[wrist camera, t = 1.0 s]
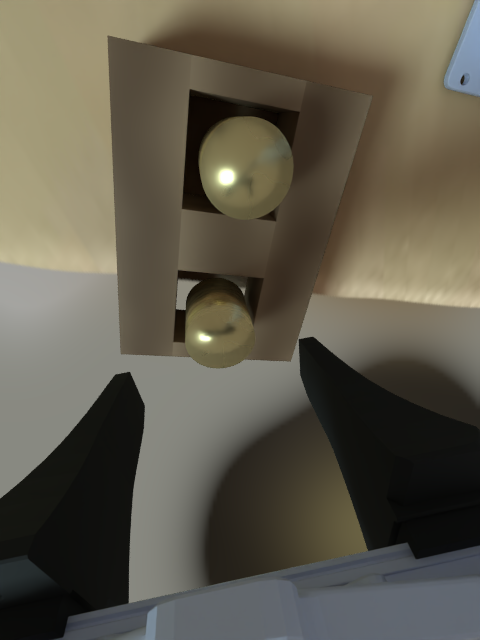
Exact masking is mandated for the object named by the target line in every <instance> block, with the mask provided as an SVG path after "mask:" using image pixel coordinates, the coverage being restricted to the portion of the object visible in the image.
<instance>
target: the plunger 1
mask: <svg viewBox="0 0 480 640" xmlns="http://www.w3.org/2000/svg"><path fill="white" fill-rule="evenodd" d="M198 163H199V170H200V176H201V181H202V185H203V188H204V191H205V193H206V195H207V197H208V199H209V200H210V202H211V203H212V204H213V205H214V206H215V207H216V208H217V209H218V210H219V211H221V212H222V213H223V214H225V215H227V216H229V217H232V218H235V219H241V220H250V219H256V218H259V217H262V216H264V215H266V214H268V213H269V212H271V211H272V210H274V209H275V208H276V207H277V206H278V205H279V204H280V203H281V202H282V200H283V199H284V197H285V196H286V194H287V192H288V190H289V188H290V185H291V181H292V177H293V167H294V166H293V156H292V152H291V149H290V146H289V144H288V141H287V140H286V138H285V136H284V135H283V134H282V132H281V131H280V130H279V129H278V128H277V127H276V126H274V125H273V124H272V123H270V122H268V121H266V120H264V119H261V118H258V117H251V116H245V117H229V118H225V119H222V120H220V121H218V122H217V123H215V124H214V125H213V126H212V127H211V128H210V129H209V130H208V131H207V132H206V134H205V136H204V137H203V139H202V142H201V144H200V148H199V154H198Z"/></svg>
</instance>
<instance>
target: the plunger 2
mask: <svg viewBox="0 0 480 640" xmlns="http://www.w3.org/2000/svg"><path fill="white" fill-rule="evenodd" d="M254 344H255V331H254V328H253V325H252V321H251V318H250V315H249V311H248V308H247V305H246V301H245V298H244V295H243V293H242V291H241V289H240V288H239V287H238V286H237V285H236V284H235V283H233V282H231V281H229V280H226V279H222V278H210V279H206V280H203V281H201V282H200V283H198V284H197V285H195V286H194V287H193V288H192V289H191V291H190V293H189V294H188V296H187V300H186V326H185V346H186V349H187V352H188V354H189V355H190V356H191V358H192V359H193V360H195V361H196V362H197V363H199V364H201V365H203V366H206V367H210V368H226V367H231V366H234V365H236V364H238V363H240V362H241V361H243V360H244V359H245V358H246V357H247V356H248V355H249V354H250V353H251V351H252V349H253V347H254Z"/></svg>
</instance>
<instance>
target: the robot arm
mask: <svg viewBox="0 0 480 640" xmlns="http://www.w3.org/2000/svg"><path fill="white" fill-rule="evenodd" d="M463 75H464V77H465V79H464V82H463V84H462V85H461V83H460V80H461V77H462V76H463ZM444 86H445V88H447V89H449V90H453V91H457V92H461V93H465V94H469V95H473V96H477V97H480V0H475V1H474V4H473V6H472V9H471V11H470V14H469V16H468V19H467V21H466V24H465V27H464V29H463V32H462V34H461V37H460V39H459V42H458V44H457V47H456V49H455V52H454V54H453V57H452V59H451V62H450V64H449V67H448V69H447V72H446V75H445V78H444ZM299 354H300V355H299V356H300V375H301V378H302V381H303V384H304V387H305V390H306V393H307V396H308V398H309V400H310V402H311V404H312V406H313V408H314V410H315V412H316V414H317V416H318V419H319V421H320V423H321V424H322V427H323V429H324V431H325V433H326V435H327V437H328V439H329V441H330V443H331V446H332V448H333V450H334V453H335V456H336V458H337V461H338V464H339V466H340V469H341V472H342V475H343V478H344V480H345V483H346V486H347V489H348V491H349V494H350V497H351V500H352V503H353V506H354V509H355V512H356V515H357V518H358V521H359V524H360V527H361V530H362V533H363V537H364V539H365V543H366V546H367V549H368V551H366V552H362V553H357V554H353V555H348V556H344V557H339V558H334V559H330V560H325V561H321V562H316V563H311V564H307V565H302V566H298V567H293V568H289V569H284V570H280V571H275V572H271V573H266V574H261V575H257V576H252V577H247V578H243V579H238V580H234V581H230V582H224V583H220V584H215V585H211V586H206V587H202V588H197V589H192V590H188V591H183V592H179V593H174V594H170V595H165V596H161V597H156V598H152V599H147V600H142V601H138V602H133V603H129V550H130V547H129V546H130V528H131V511H132V498H133V488H134V481H135V475H136V469H137V464H138V458H139V453H140V447H141V442H142V435H143V429H144V412H145V405H144V403H143V401H142V399H141V396H140V394H139V392H138V389H137V387H136V385H135V382H134V380H133V378H132V376H131V373H130V372H127V373H121V374H116V375H115V376H114V377H113V379H112V380H111V381H110V383H109V384H108V385H107V386H106V388H105V389H104V391H103V392H102V393H101V395H100V396H99V398H98V399H97V400H96V401H95V403H94V404H93V405H92V407H91V408H90V409H89V410H88V412H87V413H86V414H85V416H84V417H83V418H82V419H81V420H80V422H79V423H78V424H77V425H76V426H75V428H74V429H73V430H72V431H71V432H70V434H69V435H68V436H67V437H66V438H65V439H64V440H63V441H62V442H61V444H60V445H59V446H58V447H57V448H56V449H55V450H54V451H53V452H52V453H51V454H50V455H49V456H48V457H47V458H46V459H45V460H44V461H43V462H42V463H41V464H40V465H39V466H37V467H36V468H35V469H34V470H33V471H32V472H31V473H30V474H29V475H28V476H26V477H25V478H24V479H23V480H22V481H21V482H20V483H19V484H17V485H16V486H15V487H14V488H13V489H11V490H10V491H9V492H8V493H7V494H5V495H4V496H3V497H2V498H0V640H480V430H479V429H478V428H477V427H476V426H473V425H470V424H466V423H464V422H461V421H457V420H455V419H452V418H449V417H446V416H443V415H440V414H438V413H435V412H433V411H430V410H428V409H425V408H423V407H421V406H418V405H416V404H414V403H411V402H409V401H407V400H405V399H403V398H401V397H399V396H397V395H395V394H393V393H391V392H389V391H387V390H385V389H384V388H382V387H380V386H379V385H377V384H375V383H373V382H371V381H370V380H368V379H367V378H365V377H364V376H362V375H361V374H360V373H358V372H357V371H355V370H354V369H352V368H351V367H350V366H348V365H347V364H346V363H344V362H343V361H342V360H340V359H339V358H338V357H337V356H335V355H334V354H333V353H332V352H330V351H329V350H328V349H327V348H326V347H325V346H323V345H322V344H321V343H320V342H319V341H318V340H317V339H315V338H314V337H309V338H304V339H299Z"/></svg>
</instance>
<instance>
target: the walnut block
mask: <svg viewBox="0 0 480 640" xmlns="http://www.w3.org/2000/svg"><path fill="white" fill-rule="evenodd" d="M108 58H109V82H110V106H111V130H112V154H113V179H114V203H115V227H116V251H117V275H118V299H119V321H120V322H119V323H120V348H121V354H133V355H155V356H178V357H191V356H190V355H189V354H188V352H187V349H186V346H185V326H186V310H177V309H176V297H177V283H178V270H183V271H193V272H204V273H214V274H225V275H235V276H246V277H248V279H247V285H246V290H245V295H244V298H245V301H246V305H247V308H248V311H249V315H250V318H251V321H252V325H253V328H254V331H255V344H254V347H253V349H252V351H251V353H250V354H249V355H248V356H247V357H246V358H245V359H248V360H269V361H291V359H292V355H293V352H294V349H295V346H296V343H297V339H298V336H299V333H300V330H301V326H302V323H303V320H304V316H305V313H306V310H307V307H308V304H309V300H310V297H311V294H312V291H313V288H314V285H315V281H316V278H317V275H318V272H319V268H320V265H321V262H322V259H323V256H324V252H325V249H326V246H327V243H328V239H329V236H330V233H331V230H332V226H333V223H334V220H335V217H336V214H337V210H338V207H339V204H340V201H341V197H342V194H343V191H344V188H345V185H346V181H347V178H348V175H349V172H350V168H351V165H352V162H353V159H354V156H355V152H356V149H357V146H358V143H359V139H360V136H361V133H362V130H363V126H364V123H365V120H366V117H367V114H368V110H369V107H370V104H371V101H372V97H373V96H371V95H367V94H362V93H358V92H354V91H349V90H345V89H340V88H336V87H332V86H327V85H323V84H318V83H314V82H310V81H305V80H301V79H296V78H292V77H288V76H283V75H279V74H274V73H270V72H266V71H261V70H257V69H252V68H248V67H244V66H239V65H235V64H231V63H226V62H222V61H217V60H213V59H209V58H204V57H200V56H195V55H191V54H187V53H182V52H178V51H173V50H169V49H165V48H160V47H156V46H151V45H147V44H143V43H138V42H134V41H129V40H125V39H121V38H116V37H112V36H108ZM190 95H193V96H197V97H202V98H207V99H212V100H217V101H222V102H227V103H232V104H237V105H242V106H247V107H252V108H257V109H262V110H266V111H271V112H276V113H279V115H278V120H277V126H276V127H277V128H278V129H279V130H280V131H281V132H282V134H283V135H284V136H285V138H286V140H287V141H288V144H289V146H290V149H291V152H292V156H293V166H294V167H293V177H292V181H291V185H290V188H289V190H288V192H287V194H286V196H285V197H284V199H283V200H282V202H281V203H280V204H279V205H278V206H277V207H276V208H275V209H274V210H272V211H271V212H269V213H268V214H266V215H264V216H262V217H259V218H256V219H250V220H241V219H235V218H232V217H229V216H227V215H225V214H223V213H222V212H221V211H219V210H218V209H217V208H216V207H215V206H214V205H213V204H212V203H211V202H210V200H209V199H208V197H207V196H202V195H195V194H188V193H183V190H184V175H185V159H186V144H187V129H188V113H189V98H190Z"/></svg>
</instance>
